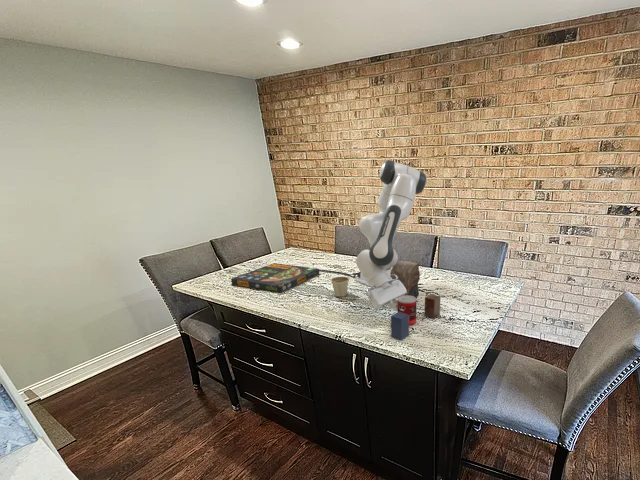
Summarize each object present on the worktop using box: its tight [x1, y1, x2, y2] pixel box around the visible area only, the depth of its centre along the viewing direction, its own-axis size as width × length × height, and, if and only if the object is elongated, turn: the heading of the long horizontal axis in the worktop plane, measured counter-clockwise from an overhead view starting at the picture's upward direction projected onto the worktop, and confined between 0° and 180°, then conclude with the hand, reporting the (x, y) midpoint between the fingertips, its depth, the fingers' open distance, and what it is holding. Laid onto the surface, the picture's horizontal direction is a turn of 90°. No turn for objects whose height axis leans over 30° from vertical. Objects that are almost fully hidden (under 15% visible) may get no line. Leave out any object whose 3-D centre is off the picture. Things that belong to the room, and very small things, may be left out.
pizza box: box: [230, 262, 320, 293], centre depth 200 cm, size 35×35×4 cm
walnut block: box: [424, 293, 441, 320], centre depth 150 cm, size 5×5×9 cm
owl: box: [390, 260, 421, 302], centre depth 164 cm, size 13×13×20 cm
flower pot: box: [330, 276, 350, 298], centre depth 174 cm, size 9×9×9 cm
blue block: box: [390, 311, 410, 341], centre depth 132 cm, size 5×5×9 cm
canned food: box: [397, 295, 417, 327], centre depth 143 cm, size 8×8×11 cm
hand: (398, 309), depth 146 cm, fingers closed, pressing on canned food
